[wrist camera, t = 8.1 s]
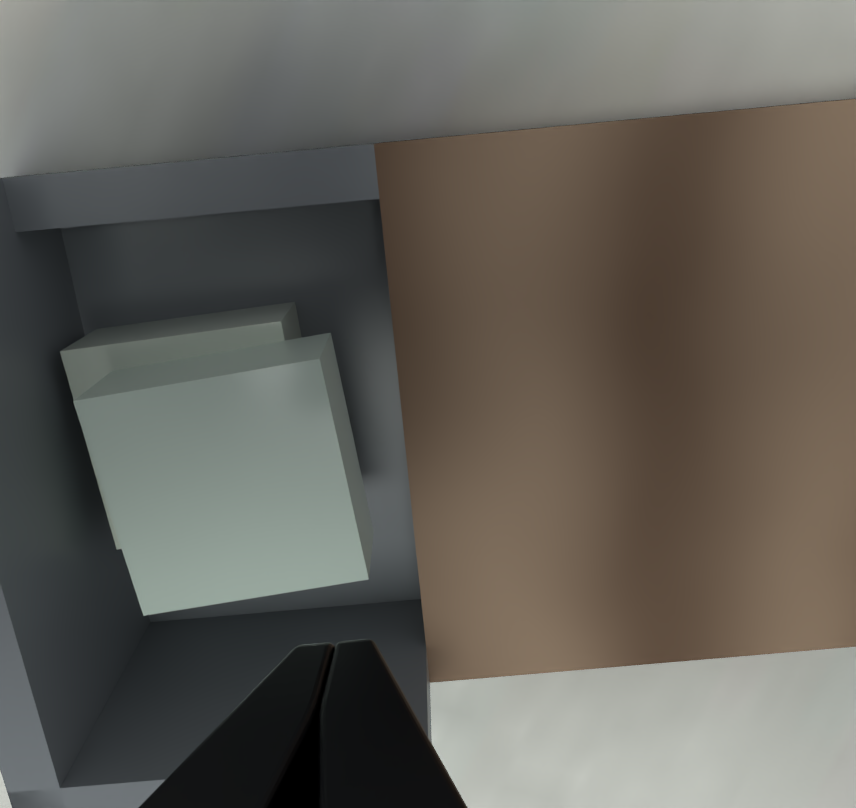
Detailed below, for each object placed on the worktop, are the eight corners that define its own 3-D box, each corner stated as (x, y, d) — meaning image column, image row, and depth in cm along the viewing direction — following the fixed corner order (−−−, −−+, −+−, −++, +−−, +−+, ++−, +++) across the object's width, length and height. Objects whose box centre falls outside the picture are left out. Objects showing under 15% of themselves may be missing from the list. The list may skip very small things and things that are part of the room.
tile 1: (330, 332, 16) (319, 358, 14) (373, 531, 18) (368, 579, 16) (112, 370, 16) (72, 401, 14) (172, 564, 18) (143, 616, 16)
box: (379, 142, 17) (362, 145, 12) (428, 621, 21) (433, 799, 15) (12, 176, 18) (-182, 196, 12) (125, 647, 21) (20, 833, 16)
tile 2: (295, 301, 18) (280, 321, 16) (329, 485, 19) (320, 523, 17) (97, 328, 18) (59, 351, 16) (145, 509, 19) (116, 549, 18)
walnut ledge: (937, 91, 17) (1020, 83, 15) (886, 581, 21) (946, 638, 19) (379, 142, 17) (373, 143, 15) (428, 621, 21) (429, 682, 19)
